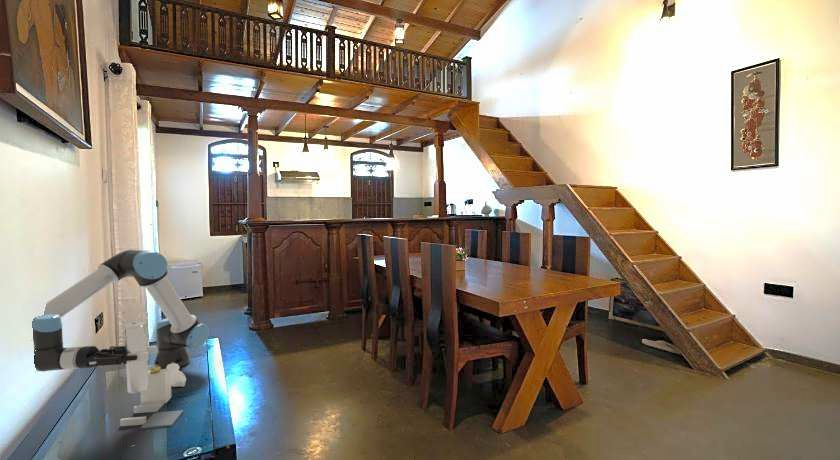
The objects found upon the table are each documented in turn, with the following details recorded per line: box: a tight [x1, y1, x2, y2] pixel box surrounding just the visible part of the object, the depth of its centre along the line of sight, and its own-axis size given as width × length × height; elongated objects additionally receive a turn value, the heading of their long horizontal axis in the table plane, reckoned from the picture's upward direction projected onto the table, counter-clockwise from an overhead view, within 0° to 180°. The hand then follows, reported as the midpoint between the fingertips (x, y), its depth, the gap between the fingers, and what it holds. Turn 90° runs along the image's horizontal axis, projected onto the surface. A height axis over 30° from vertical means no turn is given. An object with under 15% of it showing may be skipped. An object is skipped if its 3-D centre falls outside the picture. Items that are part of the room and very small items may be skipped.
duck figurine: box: [166, 363, 187, 388], centre depth 173 cm, size 12×8×11 cm
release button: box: [149, 365, 161, 373], centre depth 159 cm, size 4×4×3 cm
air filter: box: [123, 321, 149, 394], centre depth 145 cm, size 6×6×25 cm
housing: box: [119, 369, 172, 427], centre depth 152 cm, size 20×9×12 cm, turn 10°
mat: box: [140, 409, 184, 430], centre depth 146 cm, size 10×10×1 cm
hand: (152, 352), depth 146 cm, fingers closed on air filter, 6 cm apart
